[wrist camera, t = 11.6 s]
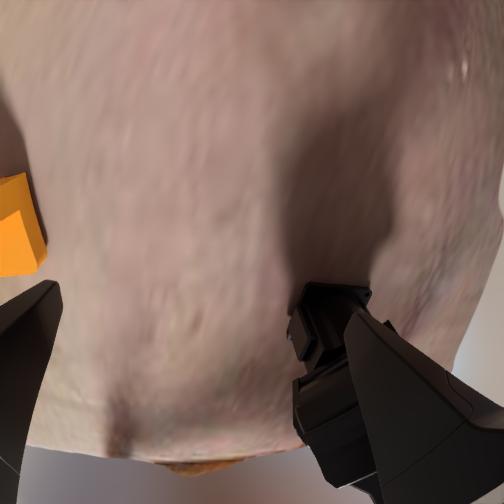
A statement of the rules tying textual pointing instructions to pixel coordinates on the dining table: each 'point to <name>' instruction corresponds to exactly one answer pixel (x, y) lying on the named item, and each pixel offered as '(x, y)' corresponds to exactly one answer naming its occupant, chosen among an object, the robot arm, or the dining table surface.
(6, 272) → the bracket
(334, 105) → the dining table surface
